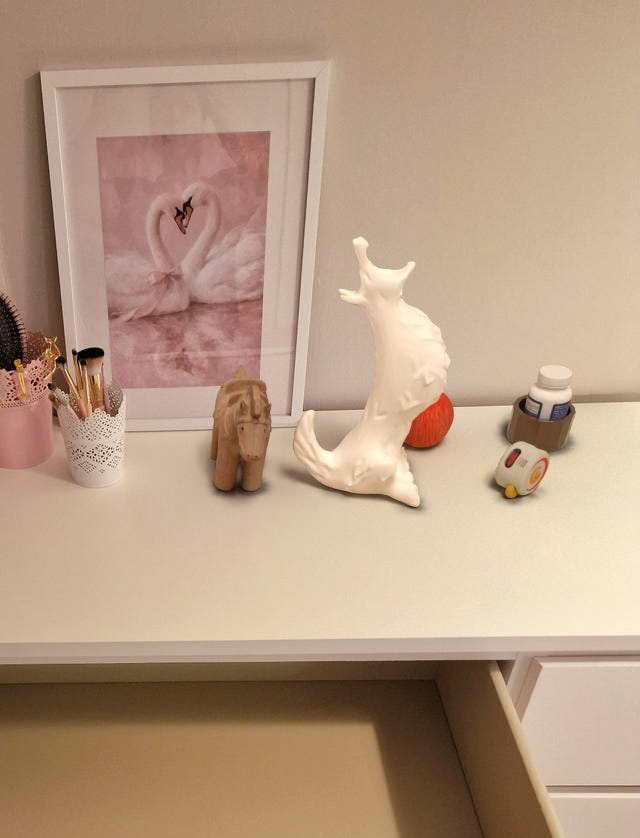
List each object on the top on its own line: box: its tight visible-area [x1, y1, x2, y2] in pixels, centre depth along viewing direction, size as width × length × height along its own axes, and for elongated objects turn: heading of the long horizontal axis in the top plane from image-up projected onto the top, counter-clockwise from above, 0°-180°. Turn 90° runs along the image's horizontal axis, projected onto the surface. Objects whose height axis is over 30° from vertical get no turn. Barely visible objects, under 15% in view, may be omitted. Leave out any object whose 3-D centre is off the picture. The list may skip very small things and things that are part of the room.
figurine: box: [209, 364, 273, 492], centre depth 107 cm, size 7×18×15 cm, turn 3°
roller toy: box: [494, 441, 550, 499], centre depth 106 cm, size 4×6×6 cm
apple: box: [403, 391, 455, 448], centre depth 115 cm, size 8×8×8 cm
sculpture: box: [292, 236, 452, 508], centre depth 100 cm, size 11×17×30 cm
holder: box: [505, 394, 577, 453], centre depth 115 cm, size 8×8×4 cm
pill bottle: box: [524, 364, 573, 420], centre depth 113 cm, size 5×5×9 cm
